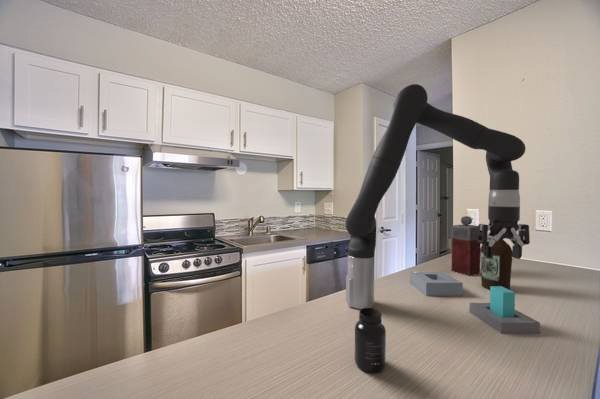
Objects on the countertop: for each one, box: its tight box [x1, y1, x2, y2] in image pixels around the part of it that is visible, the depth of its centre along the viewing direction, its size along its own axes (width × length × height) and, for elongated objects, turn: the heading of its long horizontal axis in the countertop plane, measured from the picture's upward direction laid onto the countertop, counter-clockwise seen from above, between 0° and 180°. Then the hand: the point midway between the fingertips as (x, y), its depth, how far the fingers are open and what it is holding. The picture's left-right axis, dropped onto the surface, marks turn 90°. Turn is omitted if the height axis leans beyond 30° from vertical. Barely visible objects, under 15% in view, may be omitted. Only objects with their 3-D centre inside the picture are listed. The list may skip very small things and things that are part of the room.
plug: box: [489, 286, 516, 317], centre depth 78 cm, size 4×5×10 cm
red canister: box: [450, 215, 482, 277], centre depth 128 cm, size 9×11×28 cm
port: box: [409, 271, 464, 297], centre depth 105 cm, size 14×14×5 cm
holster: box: [468, 302, 541, 334], centre depth 78 cm, size 11×13×3 cm
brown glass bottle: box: [480, 236, 513, 290], centre depth 106 cm, size 11×11×25 cm
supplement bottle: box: [354, 307, 387, 374], centre depth 58 cm, size 7×7×12 cm
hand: (502, 258), depth 78 cm, fingers open, 8 cm apart
